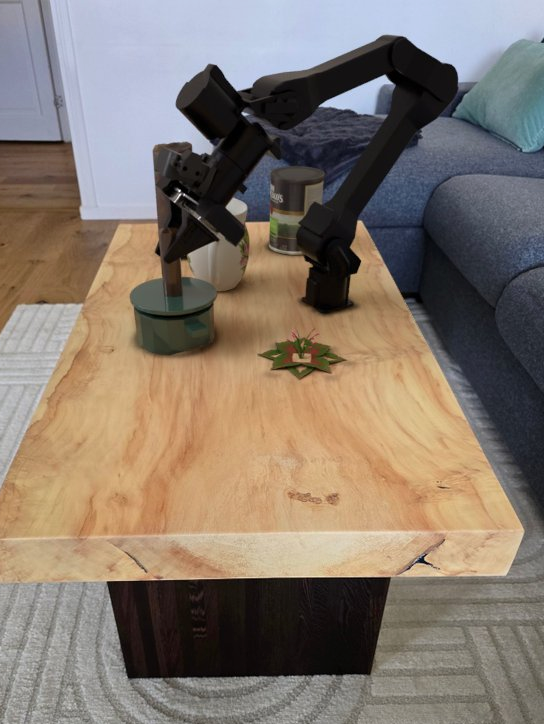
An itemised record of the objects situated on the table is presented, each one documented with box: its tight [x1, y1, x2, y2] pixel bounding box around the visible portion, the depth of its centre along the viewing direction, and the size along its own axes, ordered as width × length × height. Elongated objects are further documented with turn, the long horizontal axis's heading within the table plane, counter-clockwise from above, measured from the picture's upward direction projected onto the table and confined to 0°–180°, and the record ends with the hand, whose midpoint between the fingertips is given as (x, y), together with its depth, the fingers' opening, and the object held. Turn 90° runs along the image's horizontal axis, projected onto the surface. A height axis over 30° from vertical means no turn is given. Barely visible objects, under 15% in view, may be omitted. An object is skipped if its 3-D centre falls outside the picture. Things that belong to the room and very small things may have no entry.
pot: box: [133, 302, 215, 356], centre depth 94 cm, size 12×17×6 cm
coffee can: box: [268, 165, 326, 256], centre depth 124 cm, size 10×10×14 cm
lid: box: [129, 227, 218, 315], centre depth 90 cm, size 13×13×10 cm
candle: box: [152, 141, 193, 231], centre depth 119 cm, size 8×7×20 cm
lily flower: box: [257, 327, 347, 380], centre depth 88 cm, size 12×12×5 cm
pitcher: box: [186, 197, 251, 292], centre depth 108 cm, size 11×18×14 cm, turn 177°
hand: (161, 258), depth 88 cm, fingers closed on lid, 3 cm apart
